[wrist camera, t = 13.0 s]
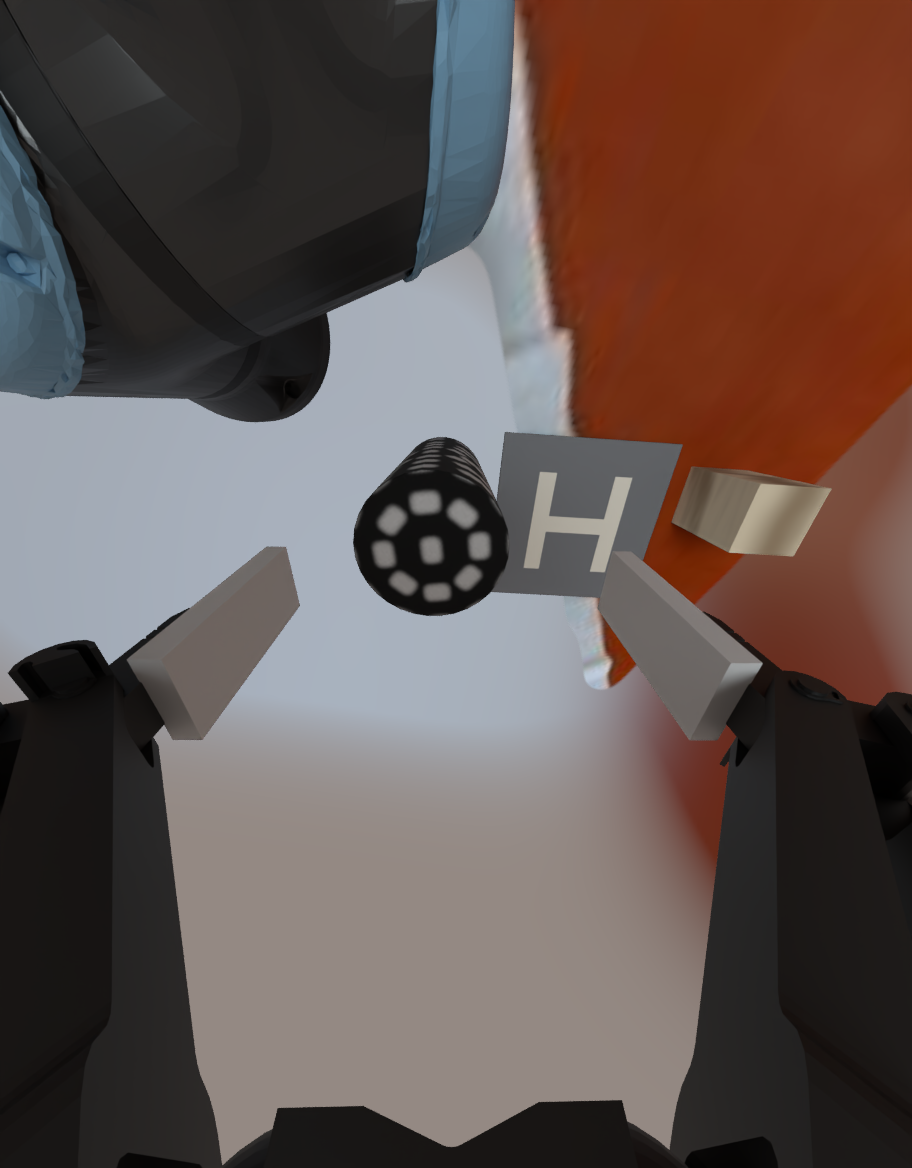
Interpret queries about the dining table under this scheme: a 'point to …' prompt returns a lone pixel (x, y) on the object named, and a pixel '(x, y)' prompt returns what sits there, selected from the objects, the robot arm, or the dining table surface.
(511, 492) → the board
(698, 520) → the birch block
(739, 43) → the dining table surface
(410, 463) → the white-spotted black cylinder
